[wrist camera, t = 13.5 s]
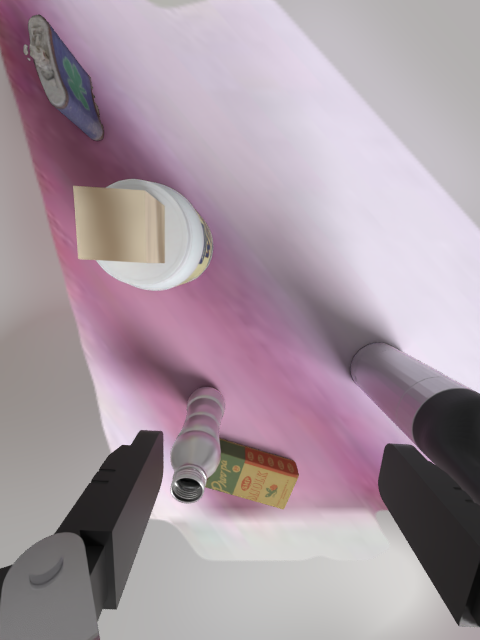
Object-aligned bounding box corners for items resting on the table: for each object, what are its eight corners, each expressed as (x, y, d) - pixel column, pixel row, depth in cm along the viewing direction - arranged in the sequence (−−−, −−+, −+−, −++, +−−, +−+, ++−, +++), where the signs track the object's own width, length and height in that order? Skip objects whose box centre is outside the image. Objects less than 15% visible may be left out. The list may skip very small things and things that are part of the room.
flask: (107, 140, 39) (58, 95, 29) (88, 143, 39) (33, 100, 29) (89, 69, 37) (30, -8, 27) (69, 73, 37) (3, -2, 27)
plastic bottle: (192, 379, 47) (159, 460, 28) (229, 385, 48) (221, 470, 28) (187, 411, 49) (153, 509, 29) (223, 416, 49) (212, 518, 30)
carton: (280, 492, 53) (283, 512, 49) (205, 471, 52) (202, 489, 48) (295, 459, 51) (300, 476, 47) (218, 436, 50) (216, 452, 46)
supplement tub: (225, 265, 43) (217, 267, 27) (160, 294, 44) (113, 313, 28) (194, 192, 41) (163, 144, 24) (125, 225, 42) (51, 200, 25)
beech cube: (164, 205, 25) (144, 190, 20) (164, 263, 27) (146, 262, 21) (108, 202, 25) (73, 185, 20) (110, 260, 27) (78, 259, 21)
